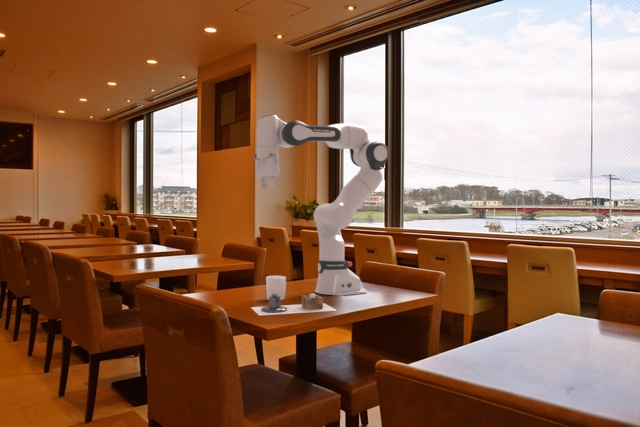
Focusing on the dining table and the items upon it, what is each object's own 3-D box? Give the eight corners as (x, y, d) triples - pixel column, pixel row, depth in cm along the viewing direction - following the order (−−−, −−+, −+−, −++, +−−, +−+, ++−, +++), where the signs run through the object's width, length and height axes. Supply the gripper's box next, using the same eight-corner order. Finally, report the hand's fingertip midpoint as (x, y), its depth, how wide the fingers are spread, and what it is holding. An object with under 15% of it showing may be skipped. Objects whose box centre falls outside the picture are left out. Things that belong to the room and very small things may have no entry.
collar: (317, 305, 189) (317, 294, 189) (322, 308, 183) (322, 297, 183) (301, 306, 187) (301, 295, 187) (306, 309, 181) (306, 298, 181)
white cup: (290, 302, 202) (290, 277, 202) (275, 305, 196) (275, 279, 196) (276, 299, 208) (276, 274, 207) (261, 302, 202) (261, 276, 202)
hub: (283, 306, 186) (283, 291, 186) (290, 311, 177) (290, 295, 177) (258, 308, 183) (259, 292, 183) (264, 313, 174) (264, 296, 174)
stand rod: (314, 306, 186) (314, 293, 186) (316, 308, 184) (316, 294, 184) (308, 307, 186) (308, 293, 185) (310, 308, 183) (310, 294, 183)
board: (323, 306, 194) (323, 303, 194) (337, 314, 181) (337, 310, 181) (250, 311, 185) (250, 307, 184) (259, 319, 171) (259, 315, 171)
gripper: (283, 152, 204) (283, 187, 204) (267, 156, 222) (266, 188, 223) (268, 152, 201) (268, 187, 201) (252, 156, 220) (252, 188, 220)
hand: (267, 188), depth 212 cm, fingers open, 8 cm apart
